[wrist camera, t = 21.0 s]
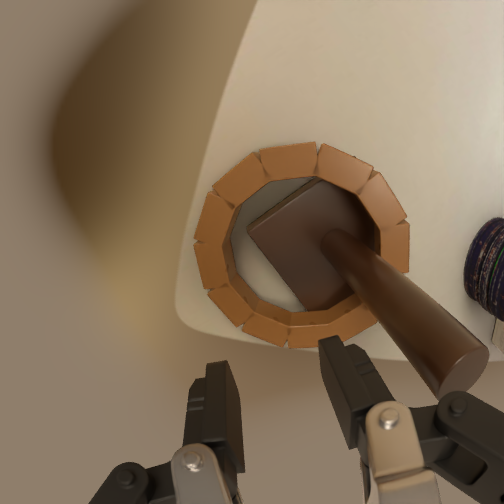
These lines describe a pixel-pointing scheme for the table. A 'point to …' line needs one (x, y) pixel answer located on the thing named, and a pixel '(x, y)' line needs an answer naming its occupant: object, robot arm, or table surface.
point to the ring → (224, 217)
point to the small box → (499, 335)
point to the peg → (364, 281)
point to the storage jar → (487, 268)
